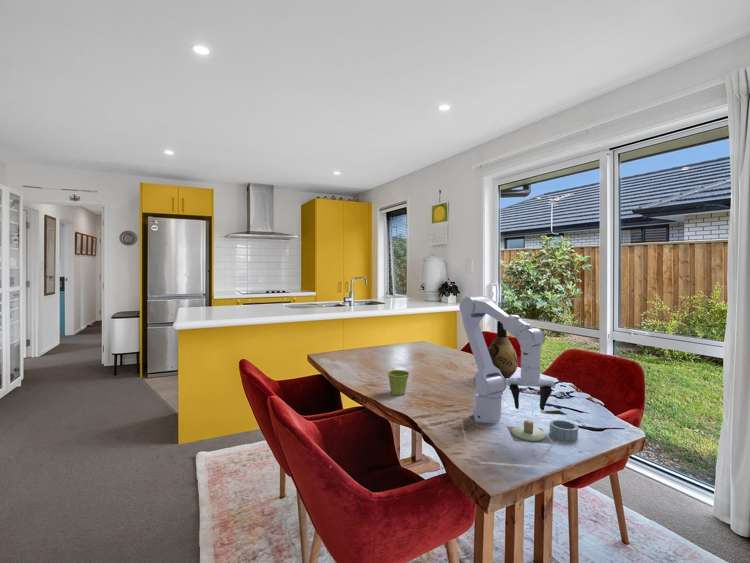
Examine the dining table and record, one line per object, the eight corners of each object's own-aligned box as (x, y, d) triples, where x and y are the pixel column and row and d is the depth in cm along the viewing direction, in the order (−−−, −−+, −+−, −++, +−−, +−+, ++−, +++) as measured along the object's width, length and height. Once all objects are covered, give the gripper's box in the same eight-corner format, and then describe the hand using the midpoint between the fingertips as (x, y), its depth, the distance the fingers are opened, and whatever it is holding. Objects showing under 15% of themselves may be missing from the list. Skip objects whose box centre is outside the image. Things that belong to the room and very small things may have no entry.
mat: (514, 442, 124) (514, 440, 124) (507, 428, 135) (507, 426, 135) (551, 445, 123) (551, 443, 123) (541, 430, 134) (541, 428, 133)
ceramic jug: (521, 383, 186) (523, 319, 185) (488, 383, 186) (489, 318, 185) (510, 373, 203) (512, 314, 202) (479, 373, 203) (481, 313, 202)
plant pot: (407, 397, 164) (408, 376, 164) (385, 395, 166) (385, 375, 166) (410, 390, 174) (410, 370, 173) (388, 389, 175) (389, 369, 175)
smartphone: (567, 428, 136) (567, 425, 136) (540, 412, 151) (540, 409, 151) (586, 427, 138) (586, 424, 138) (557, 411, 153) (557, 408, 153)
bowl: (554, 441, 125) (554, 429, 125) (546, 431, 133) (546, 419, 133) (581, 443, 124) (582, 430, 124) (572, 432, 132) (572, 420, 132)
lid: (515, 440, 124) (516, 427, 124) (508, 427, 134) (509, 415, 134) (549, 442, 123) (550, 429, 123) (540, 429, 133) (540, 417, 133)
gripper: (509, 368, 125) (508, 411, 125) (558, 370, 123) (557, 414, 123) (504, 362, 132) (503, 404, 132) (551, 364, 130) (550, 406, 130)
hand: (529, 408), depth 128 cm, fingers open, 7 cm apart
